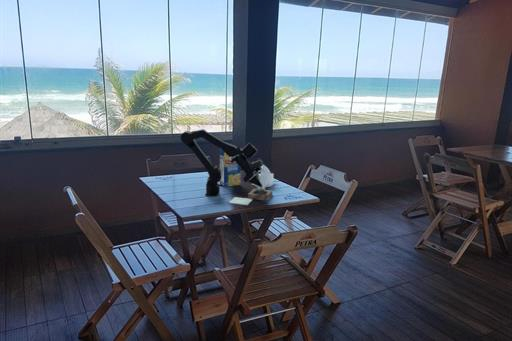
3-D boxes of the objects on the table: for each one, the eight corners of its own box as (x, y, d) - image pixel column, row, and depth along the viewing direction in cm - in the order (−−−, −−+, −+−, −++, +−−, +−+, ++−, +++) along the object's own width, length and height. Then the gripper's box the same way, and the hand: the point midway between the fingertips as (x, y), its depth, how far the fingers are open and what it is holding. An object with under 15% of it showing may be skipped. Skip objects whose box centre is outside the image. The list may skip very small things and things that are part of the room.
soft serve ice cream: (278, 189, 227) (279, 168, 220) (254, 192, 224) (254, 171, 218) (273, 179, 238) (273, 159, 231) (250, 181, 235) (249, 161, 228)
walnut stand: (247, 198, 202) (247, 194, 201) (253, 193, 212) (253, 188, 212) (267, 200, 199) (267, 196, 198) (272, 195, 209) (272, 190, 209)
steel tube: (254, 197, 204) (255, 175, 201) (257, 195, 209) (257, 173, 206) (263, 198, 203) (264, 176, 200) (265, 196, 207) (266, 174, 204)
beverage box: (219, 183, 230) (219, 148, 225) (235, 182, 235) (236, 147, 230) (223, 186, 224) (224, 150, 219) (240, 184, 229) (241, 149, 224)
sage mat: (228, 203, 193) (228, 202, 193) (234, 197, 202) (234, 197, 202) (247, 205, 191) (247, 204, 191) (252, 199, 200) (252, 199, 200)
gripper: (249, 157, 192) (269, 180, 192) (258, 151, 210) (277, 172, 210) (234, 171, 196) (254, 193, 196) (245, 164, 214) (263, 184, 214)
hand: (263, 185), depth 204 cm, fingers closed on steel tube, 5 cm apart
